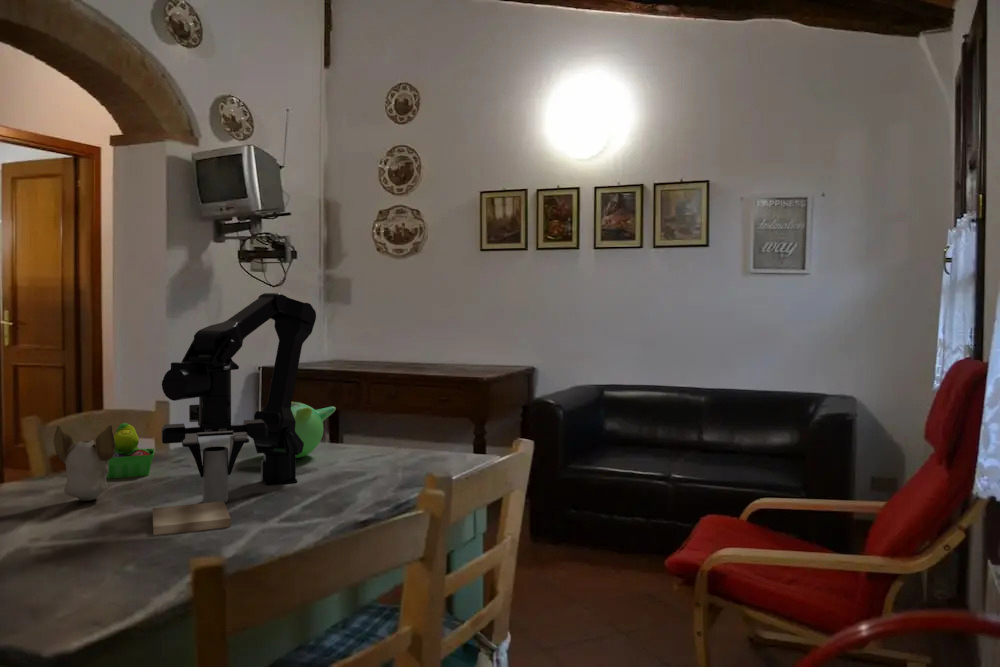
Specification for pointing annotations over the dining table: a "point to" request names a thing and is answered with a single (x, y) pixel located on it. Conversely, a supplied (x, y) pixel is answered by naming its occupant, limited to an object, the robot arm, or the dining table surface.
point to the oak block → (190, 518)
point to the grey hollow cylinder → (215, 474)
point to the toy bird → (309, 425)
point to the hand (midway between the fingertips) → (215, 475)
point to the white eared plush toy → (85, 462)
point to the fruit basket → (129, 455)
